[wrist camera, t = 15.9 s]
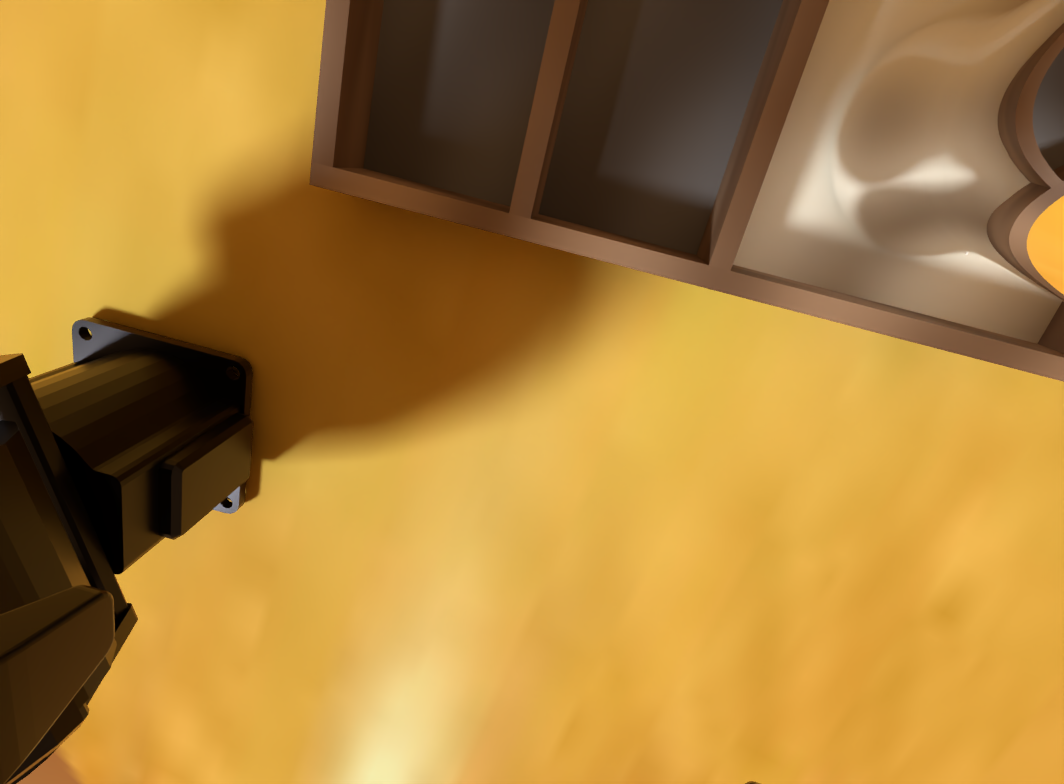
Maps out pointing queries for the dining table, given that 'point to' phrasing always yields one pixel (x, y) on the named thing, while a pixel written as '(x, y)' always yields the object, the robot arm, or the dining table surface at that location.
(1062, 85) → the metal cup
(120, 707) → the dining table surface
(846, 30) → the box
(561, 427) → the dining table surface
